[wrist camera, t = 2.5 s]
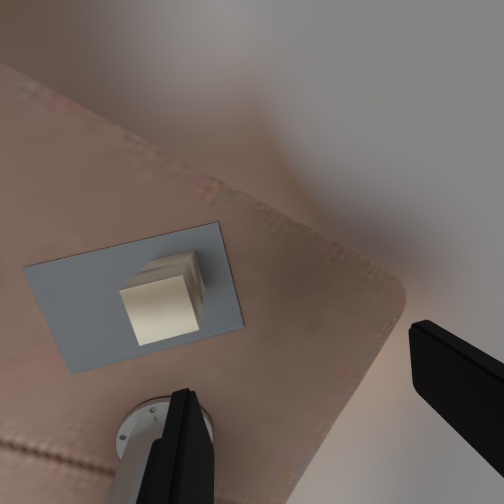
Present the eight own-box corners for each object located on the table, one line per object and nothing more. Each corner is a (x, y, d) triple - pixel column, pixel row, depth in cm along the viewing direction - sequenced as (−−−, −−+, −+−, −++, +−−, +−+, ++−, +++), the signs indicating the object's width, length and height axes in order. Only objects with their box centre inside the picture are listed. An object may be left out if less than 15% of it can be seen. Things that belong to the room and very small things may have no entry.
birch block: (205, 288, 31) (199, 329, 21) (164, 298, 31) (139, 345, 21) (194, 249, 30) (182, 274, 20) (151, 259, 29) (119, 290, 20)
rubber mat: (244, 326, 33) (244, 327, 33) (72, 372, 31) (70, 374, 31) (217, 221, 30) (217, 222, 29) (24, 267, 28) (22, 268, 28)
